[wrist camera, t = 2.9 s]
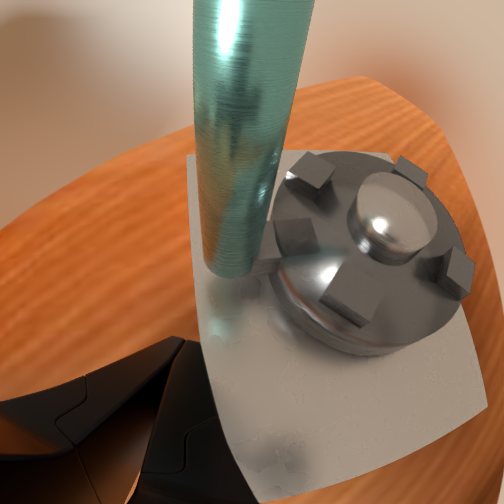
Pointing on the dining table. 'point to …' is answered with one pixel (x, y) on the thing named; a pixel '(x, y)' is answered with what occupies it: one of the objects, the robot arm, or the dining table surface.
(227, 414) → the base plate
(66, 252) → the dining table surface
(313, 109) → the dining table surface
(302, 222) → the joystick
